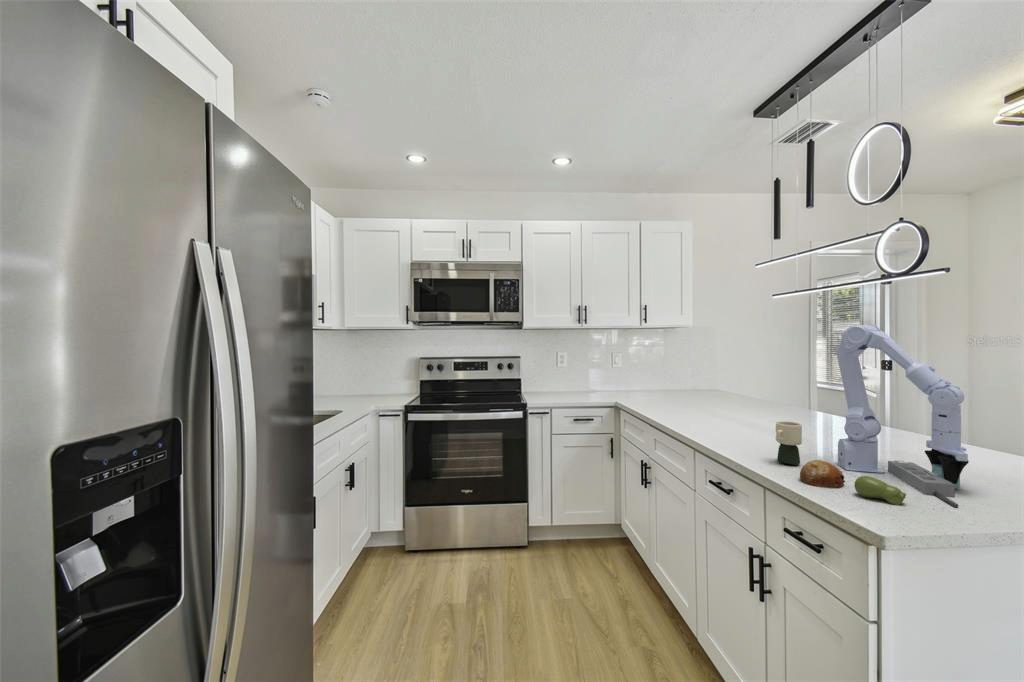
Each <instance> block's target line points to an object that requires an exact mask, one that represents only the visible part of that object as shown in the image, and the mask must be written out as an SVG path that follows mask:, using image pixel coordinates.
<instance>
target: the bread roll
mask: <svg viewBox="0 0 1024 682" xmlns="http://www.w3.org/2000/svg"><path fill="white" fill-rule="evenodd" d="M799 478H800V480H801V482H802V483H804V484H807V485H810V486H814V487H818V488H826V487H828V488H827V489H838V487H839V488H841V487H842V486H843V485H844V483H845V482H846V480H845V475H844V473H843V471H841V470H840V469H839V468H838V467H836V465H833V464H832V463H829V462H828V461H824V460H821V459H813V460H810V461H807V462H806V463H805V464H804V465H802V467H801V469H800V472H799Z"/></svg>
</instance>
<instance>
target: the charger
mask: <svg viewBox="0 0 1024 682" xmlns="http://www.w3.org/2000/svg"><path fill="white" fill-rule="evenodd" d="M926 473H928V474H930V475H931V476H939V477H941V478H943V479H944V473H943V468H942V465H938V464H932V465H931V471H930V472H927V471H926ZM955 489H959V490H960V489H961V475H960V476H959V479H958V482H957V484H955Z"/></svg>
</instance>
